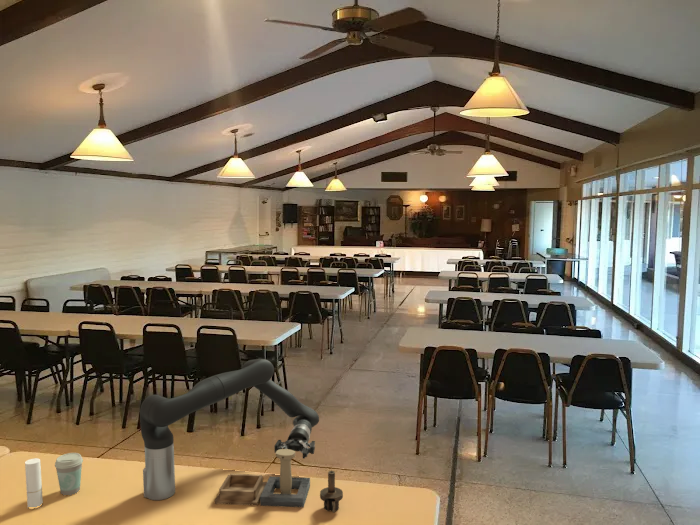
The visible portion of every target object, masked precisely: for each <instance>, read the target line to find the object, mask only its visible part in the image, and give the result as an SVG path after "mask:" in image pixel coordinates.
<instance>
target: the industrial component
mask: <svg viewBox="0 0 700 525" xmlns="http://www.w3.org/2000/svg"><path fill="white" fill-rule="evenodd" d="M327 479H328V480H327V487H324V488H322V489H321V490H320V491H319V498H320V500H321V501H323V509H324V510H325V511H326V512H330V511H332V513H336V511H339V509H340V507H339V506H340V501H342V500H343V497H344V491H343V490H342V489H341V488H339V487H336V472H335V471H334V470H329V471H328V472H327Z"/></svg>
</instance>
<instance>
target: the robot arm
mask: <svg viewBox="0 0 700 525" xmlns="http://www.w3.org/2000/svg"><path fill="white" fill-rule="evenodd" d="M274 372H275V367H274V365H273V363H272V362H271V361H270V360H268V359H265V358H258V359H257V358H256V359H249V360H248V361H246V362H244V364H243V365H242V367H241V369H238V370H237V369H236V370H232V371H226V372H222V373H219V374H215V375H212V376H209V377H207V378H204V379H202V380H200V381H199V382H197V383H196V384H195V385H194V386H193V387H192V388H191V389H190V390H188V392H186V393H184V394H181V395H179V396H176V397H172V398H167V397H164V396H162V395H159V394H151V395H148V396H147V397H146V398H144V400H143V401H142V403H141V404H140V405H141V406H140V409H139V421H140V422H139V423H140V432H141V437H142V440H143V441H144V442H143V443H144V464H145V466H144V467H143V469H142V480H143V483H142V484H143V486H142V487H143V497H144V498H147V499H149V500H151V501H161V500H166V499H169V498H170V497H172V496H174V494H175V493H176V479H175V478H176V475H175V472H176V471H175V470H176V469H175V448H174V446H175V445H174V442H175V441H174V435H173V432H172V431H171V429H170V428H169V426H170V425H172V424H174V423H176V422H178V421H179V420H181V419H183V418H185V417H186V416H189V415H190V414H192V413H194V412H197V411H199V410H202V409H204V408H207V407H209V406H212V405H214V404H217V403H219V402H221V401H223V400H225V399H227V398H229V397H232V396H234V395H237V394H238V393H240V392H242V391H244V390H246V389H248V388H252V387H253V388H255V389H257V390H258V391H260V392H261V393H262V394H263V395H265V396H266V397H267V398H268V399H270V400H271V401H272V402H273V403H275V405H276V406H278V407H279V408H280V409H281V410H282V411H283V413H285V414H286V416H288V417H289V418H293V420H292V425H293V428H292V429H291V431H290V433H289V435H288V437H287V439H286V440H285V441H282V440H281V439H277V441H276V442H275V444H274V447H273V448H274V449H273V450H274V453H275V454H276V451H277V450H279V449H290V450H293V451H295V452H300V453H301V454H302V459H306V458H307V457H308V455H309V454H311V455H313V454H314V453H315V449H316V441H315V440H312V441H311V442H309V441H310V439H311V438H310V437H311V434H312V430H313V428H314V427H315V426H317V425H318V424H319V423H320V416H319V414H318V412H317V411H316V410H315V409H313V408H312V407H310V406H308V405H305V404H304V403H302V402H301V401H299V399H298V398H297V397H296V396H295V395H294V394H293V393H291V392H290V391H289V390H288V389H286V388H284V387H283V386H281V385H279V384H277V383H276V382H275V381H273V380H271V379H272V377H273V376H274Z"/></svg>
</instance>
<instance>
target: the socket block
mask: <svg viewBox="0 0 700 525" xmlns="http://www.w3.org/2000/svg"><path fill="white" fill-rule="evenodd" d="M266 482H267V483H266V485H265V488H264V490H263V492H262V494H261V496H260V501H259V504H260V507H261V506H262V507H264V506H265V507H283V508H284V507H286V508H288V507H289V508H304V507H305V504H306V501H307V497H308V495H309V490H310V487H311V478H310V477H299V476H298V477H297V476H296V477H295V476H292V488H291V490H297V493H291V494H281V493H278V492H277V493H275V490H279V489H280V476H269V478H268V480H267V481H266ZM280 490H281V489H280Z"/></svg>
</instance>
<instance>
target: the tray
mask: <svg viewBox="0 0 700 525" xmlns="http://www.w3.org/2000/svg"><path fill="white" fill-rule="evenodd" d="M266 483H267V481H264V478H263V474H254V473H253V474H252V473H251V474H250V473H249V474H248V473H230V474H228V475H227V476H226V477H225V480H224V481H223V482H222V484H221V486H220V487H219V488H218V489H219V490H218V491H219V492H218V494H217V496H216V498H215V499H214V504H216V505H239V506H258V505H259V504H260V496H261V494H262V492H263V490H264V488H265V485H266Z"/></svg>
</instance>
